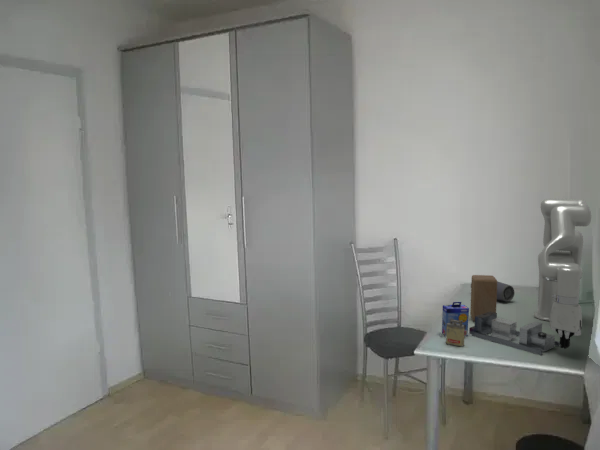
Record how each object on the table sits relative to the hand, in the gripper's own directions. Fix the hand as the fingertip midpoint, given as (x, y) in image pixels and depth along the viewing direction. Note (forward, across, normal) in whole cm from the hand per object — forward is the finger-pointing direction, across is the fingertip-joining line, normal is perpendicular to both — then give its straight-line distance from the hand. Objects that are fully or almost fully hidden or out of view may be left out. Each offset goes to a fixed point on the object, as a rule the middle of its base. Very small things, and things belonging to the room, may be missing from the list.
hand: (564, 347), depth 189 cm
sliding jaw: (+2, -10, 0) cm, 10 cm away
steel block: (+3, -24, 0) cm, 25 cm away
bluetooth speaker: (+3, -61, +54) cm, 82 cm away
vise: (+3, -21, 0) cm, 21 cm away
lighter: (+3, -33, -22) cm, 39 cm away
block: (+3, -44, +16) cm, 46 cm away
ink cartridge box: (+3, -40, -12) cm, 41 cm away
